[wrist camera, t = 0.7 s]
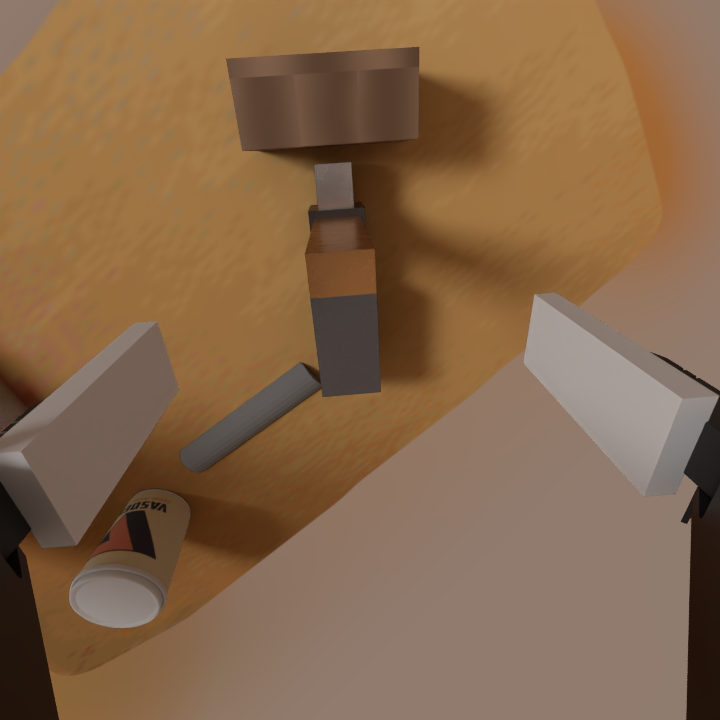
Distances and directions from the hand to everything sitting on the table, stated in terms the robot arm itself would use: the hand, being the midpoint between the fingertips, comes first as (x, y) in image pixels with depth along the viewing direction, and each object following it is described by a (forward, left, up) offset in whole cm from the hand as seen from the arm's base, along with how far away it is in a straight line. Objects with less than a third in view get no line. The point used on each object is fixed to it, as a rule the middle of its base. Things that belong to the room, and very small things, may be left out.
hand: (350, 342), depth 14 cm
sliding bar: (0, -5, -24) cm, 24 cm away
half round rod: (-12, -21, -26) cm, 35 cm away
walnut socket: (0, +9, -25) cm, 26 cm away
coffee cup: (-26, -34, -25) cm, 49 cm away
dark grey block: (0, -10, -25) cm, 27 cm away
